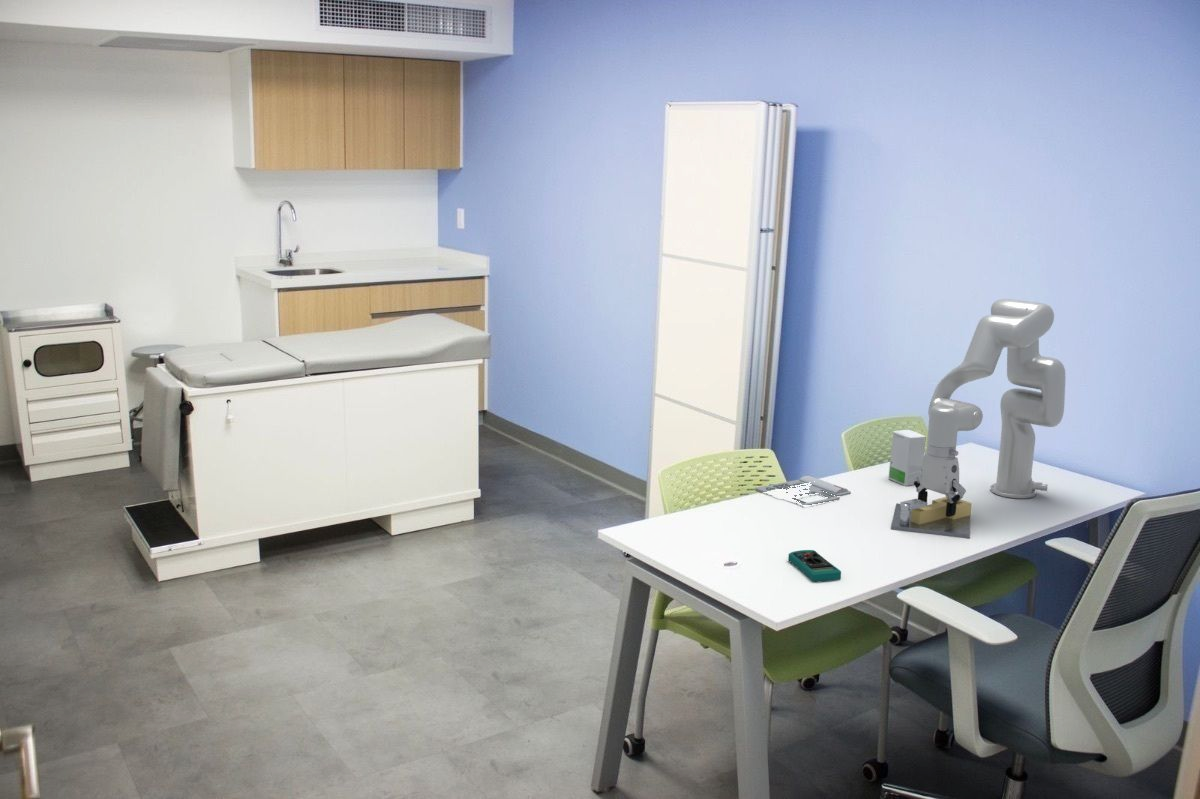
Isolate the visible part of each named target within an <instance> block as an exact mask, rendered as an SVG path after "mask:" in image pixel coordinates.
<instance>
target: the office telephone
mask: <svg viewBox="0 0 1200 799" xmlns="http://www.w3.org/2000/svg"><path fill="white" fill-rule="evenodd" d="M814 481H815V482H814ZM809 482H811V483H810V484H812V485H811V486H809V487H810V488H809V490H810V491H809V493H805V494H808V495H809V494H815V493H819V494H821V495H823V496H825V497H828V498H825V497H824V499H819V500H815V501H809V502H806V501H804V500H801V499H796V498H792V499H794V500H797V501H798V502H799V501H800V502H799V503H801V504H802V505H812V504H818V503H823V502H829V501H833V502H835V501H834V500H837V501H839V499H841V498H840V497H843V496H848V495H851V494H852V492H851V491H850V490H848V488H845V487H842V486H839V485H837V484H833V483H831V482H828V481H824V480H822V479H819V478H816V477H813V476H810V475H804V476H802V477H800V478H799V479H795V480H789V481H783V482H779V483H774V484H769V485H762V486H758V487H755V489H754V490H755V491H756V492H758V493H761V494H763V493H762V492H767V491H771V490H775V489H782V488H783V489H786V490H787V489H789V488H791V487H790V486H794V487H792V488H796V487H795V485H800V484H804V483H809ZM807 485H808V484H807ZM801 486H806V485H801ZM788 487H789V488H788ZM797 487H798V486H797ZM799 487H800V486H799ZM803 490H808V489H806V488H805V489H803ZM799 491H800V490H799ZM823 491H824V492H823ZM800 492H801V491H800ZM826 492H827V493H826ZM786 493H788V492H786ZM831 494H832V495H831ZM799 495H800V496H802V495H803V494H799ZM834 495H835V496H834ZM794 496H795V497H796V496H797V495H794ZM823 496H822V497H823ZM837 496H840V497H837ZM797 501H796V502H797ZM829 503H830V502H829Z"/></svg>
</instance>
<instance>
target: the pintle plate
mask: <svg viewBox="0 0 1200 799" xmlns="http://www.w3.org/2000/svg"><path fill="white" fill-rule="evenodd" d="M951 496H952V495H951ZM952 498H953V497H952ZM948 502H949V501H948ZM927 505H928V501H927V502H924V501H921V500H919V499H918V498H913V499H909V500H904V501H900V503H896V504H895V508H894V512H893V517H892V521H891V525H890V530H894V531H895V530H897V531H905V532H910V533H911V532H912V533H921V534H930V535H936V536H937V535H938V536H947V537H956V538H963V539H970V537H971V515H969V516H966V517H962V518H958V519H954V520H952V519H949V518H943V519H939V520H935V521H931V522H927V523H923V524H920V525H919V524H916V523H914V522H911V510H913V509H917V508H922V507H926V506H927Z"/></svg>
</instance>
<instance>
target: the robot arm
mask: <svg viewBox="0 0 1200 799" xmlns="http://www.w3.org/2000/svg"><path fill="white" fill-rule="evenodd" d="M990 306H991V307H990V314H989V315H985V316H982V318H981V319H980V320H979V321H978V323H977V326H976V328H975V330H974V332H973V336H972V337H971V341H970V342H969V343H970V344H969V345H968V348H967V351H966V353H965V357H964V359H963V360H962V362H961V363H960V364H959V365H958V366H956V367H954V368H953V369H951V370H950V372H948V373H947V374H946V375H945V376H944V377H943V378H942V379H941V380H940V381H939V382H938V384H937V385H936V387H935V390H934V391H933V393H932V394H933V395H932V397H931V399H930V402H929V406H928V412H927V413H928V429H927V438H926V441H927V442H926V451H925V452H924V458H923V461H922V466H921V472H918V473H915V474H912V477H913V481H914V485H913V486H914V487H915V491H916V492H917V499H919V500H921V501H924V502H927V503H928V496H929V495H928V494H929V492H928V491H927V490H929V491H931V492H935V493H939V494H941V495H945V497H947V499H948V501H949V502H947V506H946V516H947V517H950V516H954V515H955V513H956V504H957V502H958V501H959V500H960V499H961V500H962V499H963V497H964V495H965V494H966V493H967V492H966V491H967V489H966V488H965V487H964V486H963V485H962V484H960V464H959V459H958V457H957V456H959V451H958V450H957V442H958V439H957V438H958V432H968V431H969V432H970V431H973V430H975V429H977V428H978V427H979V426H980V425H981V424H982V421H983V417H984V416H983V415H984V414H983V411H982V409H981V408H980V407H979V406H978V405H977V404H973V403H972V402H971V403H969V402H966V401H965V402H964V401H960V400H956V399H951V397H952V395H953V393H954V392H955V391H956V390H957V389H958V388H960V387H961V386H964V385H965V384H968V383H969V382H973V381H977V380H980V379H985V378H988V377H990V376H992V375H993V374H994V372H995V369H996V367H997V364H998V362H999V359H1000V357H1001V354H1002V352H1003V349H1004V348H1006V350H1007V354H1006V377H1007V380H1008V382H1009V383H1011V384H1013V385H1015V386H1019V387H1024V388H1018V387H1017V388H1011V389H1007V390H1006V391H1005V392H1004V393H1003V394H1002V395H1001V398H1000V404H999V406H1000V407H999V408H1000V415H1001V431H1000V442H999V454H998V463H997V472H996V473H997V474H996V481H995V482H996V483H993V484H991V485H990V492H992V494H995V495H996V496H997V495H998V496H1001V497H1005V498H1011V499H1022V500H1023V499H1030V498H1033V497H1035V496H1036V490H1037V491H1041V492H1043V491H1044V492H1048V484H1044V483H1043V482H1035V481H1033V477H1032V475H1033V474H1032V473H1033V465H1034V454H1035V446H1036V433H1035V430H1034V428H1033V426H1032V425H1035V426H1041V427H1045V428H1054V427H1056V426H1058V425H1059V424H1060V423H1061V421H1062V419H1063V416H1064V412H1065V399H1066V397H1065V396H1066V368H1065V366H1064V364H1063V362H1062V361H1061V360H1060V359H1057V358H1056V357H1055V358H1054V357H1049V356H1043V355H1041V354H1040V338H1042V337H1043V336H1044V335H1045V334H1047V332H1049V331H1050V330H1051V328H1052V326H1053V324H1054V321H1055V320H1054V319H1055V313H1054V310H1053V308H1052V307H1051V306H1050V305H1048V304H1046V303H1041V302H1036V301H1035V302H1034V301H1028V300H1027V301H1026V300H1020V299H1010V298H1009V299H1008V298H1003V299H997V300H995V301H994V302H993V303H992V304H991V305H990ZM1026 388H1028V389H1026ZM1029 388H1030V389H1029ZM1031 389H1035V390H1031ZM1036 390H1040V392H1039V391H1036ZM919 477H920V479H919ZM951 495H952V496H951ZM952 497H953V498H952Z"/></svg>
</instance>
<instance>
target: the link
mask: <svg viewBox="0 0 1200 799" xmlns="http://www.w3.org/2000/svg"><path fill="white" fill-rule="evenodd" d="M947 502H948V499H947V497H946V496H944V497H941V498H937V499H932V502H931V504H927V506H926V507H922V508H917V509H913V510H911V522H914V523H916V524H919V525H920V524H923V523H927V522H931V521H935V520H939V519H943V518H949V519H952V520H954V519H958V518H962V517H966V516H969V515H970V516H971V515H972V514H971V513H972V502H969V501H967V500H964V499H962V498H961V499H960V500H959V501H958V502H957V504H956V513H955V515H954V516H950V517H947V516H946V506H947Z"/></svg>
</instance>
